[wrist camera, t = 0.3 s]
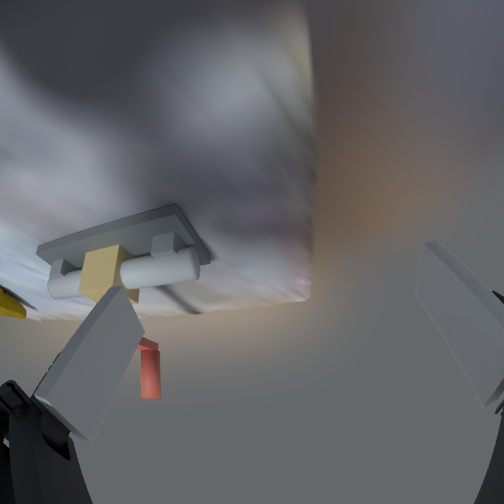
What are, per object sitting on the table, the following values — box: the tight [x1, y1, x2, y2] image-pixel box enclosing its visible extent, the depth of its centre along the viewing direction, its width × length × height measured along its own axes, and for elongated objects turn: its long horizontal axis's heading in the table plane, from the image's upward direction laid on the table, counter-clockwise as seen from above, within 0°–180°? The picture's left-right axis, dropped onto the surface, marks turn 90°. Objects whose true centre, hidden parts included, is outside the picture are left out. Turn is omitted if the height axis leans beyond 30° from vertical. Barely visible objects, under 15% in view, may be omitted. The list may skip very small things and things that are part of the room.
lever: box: [137, 337, 161, 399], centre depth 33 cm, size 15×3×9 cm, turn 11°
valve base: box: [36, 204, 210, 304], centre depth 34 cm, size 12×26×11 cm, turn 101°
